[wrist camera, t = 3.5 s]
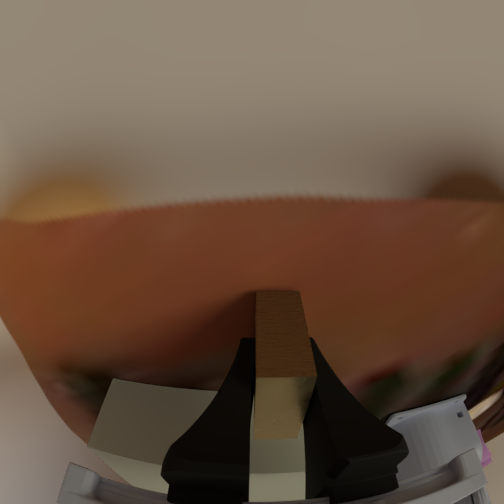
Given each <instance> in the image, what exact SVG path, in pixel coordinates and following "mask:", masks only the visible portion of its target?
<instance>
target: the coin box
mask: <svg viewBox="0 0 504 504" xmlns="http://www.w3.org/2000/svg"><path fill="white" fill-rule="evenodd" d="M217 392H218V391H207V390H194V389H183V388H174V387H165V386H157V385H150V384H143V383H137V382H131V381H125V380H119V379H114V378H113V380H112V383H111V385H110V387H109V390H108V392H107V395H106V397H105V400H104V402H103V405H102V408H101V410H100V413H99V415H98V418H97V421H96V423H95V426H94V429H93V432H92V434H91V437H90V440H89V443H88V446H87V447H89V448H90V449H91V450H92V451H93V452H94V453H95V454H96V455H97V456H98V457H99V458H100V459H101V460H102V461H103V462H105V463H106V464H107V465H108V466H109V467H110V468H111V469H113V470H114V471H115V472H116V473H117V474H118V475H120V476H121V477H122V478H123V479H125V480H126V481H127V482H128V483H130V484H131V485H132V486H134V487H138V488H142V489H146V490H151V491H155V492H160V493H165V494H168V488H169V484H168V483H167V482H166V481H165V480H164V479H163V478H162V477H161V475H160V474H161V469H162V463H163V460H164V458H165V455H166V453H167V451H168V449H169V447H170V446H171V444H173V443H174V442H175V441H176V440H177V439H178V438H179V437H180V436H182V435H183V434H184V433H185V432H186V431H187V430H188V429H189V428H190V427H191V426H192V425H193V423H194V422H195V421H196V420H197V419H198V418H199V417H200V416H201V414H202V413H203V412H204V411H205V409H206V408H207V407H208V405H209V404H210V403H211V401H212V400H213V399H214V397H215V396H216V394H217ZM253 435H254V399H253V408H252V417H251V426H250V476H249V502H277V501H294V500H305V446H304V431H303V423H302V426H301V429H300V432H299V435H298V438H296V439H265V440H255V439H253Z"/></svg>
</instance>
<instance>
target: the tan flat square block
mask: <svg viewBox="0 0 504 504" xmlns="http://www.w3.org/2000/svg"><path fill="white" fill-rule="evenodd" d="M316 379H317V372H316V367H315V362H314V357H313V352H312V347H311V343H310V338H309V333H308V328H307V324H306V319H305V314H304V310H303V305H302V301H301V296H300V292H299V291H256V309H255V384H254V435H253V439H255V440H265V439H296V438H298V435H299V432H300V429H301V426H302V423H303V420H304V417H305V414H306V411H307V408H308V405H309V402H310V399H311V395H312V392H313V389H314V385H315V382H316Z"/></svg>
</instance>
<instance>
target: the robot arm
mask: <svg viewBox="0 0 504 504" xmlns="http://www.w3.org/2000/svg"><path fill="white" fill-rule="evenodd" d="M310 343H311V347H312V352H313V357H314V362H315V367H316V372H317V379H316V382H315V385H314V389H313V392H312V395H311V399H310V402H309V405H308V408H307V411H306V414H305V417H304V420H303V431H304V446H305V500H294V501H277V502H249V476H250V426H251V417H252V408H253V399H254V384H255V338H242V339H240V345H239V348H238V351H237V354H236V357H235V360H234V362H233V364H232V366H231V369H230V371H229V373H228V375H227V377H226V379H225V380H224V382H223V384H222V386H221V388H220V389H219V391H218V392H217V394H216V396H215V397H214V399H213V400H212V401H211V403H210V404H209V405H208V407H207V408H206V409H205V411H204V412H203V413H202V414H201V416H200V417H199V418H198V419H197V420H196V421H195V422H194V423H193V425H192V426H191V427H190V428H189V429H188V430H187V431H186V432H185V433H184V434H183V435H182V436H180V437H179V438H178V439H177V440H176V441H175V442H174V443H173V444H171V446H170V447H169V449H168V451H167V453H166V455H165V458H164V460H163V463H162V469H161V474H160V475H161V477H162V478H163V479H164V480H165V481H166V482H167V483H168V484H169V488H168V494H165V493H160V492H155V491H151V490H146V489H142V488H138V487H134V486H130V485H126V484H123V483H119V482H116V481H112V480H109V479H106V478H103V477H100V475H99V474H97V473H96V472H94V471H92V470H90V469H88V468H85V467H82V466H79V465H77V464H74V463H71V462H70V463H69V465H68V468H67V471H66V474H65V477H64V480H63V483H62V487H61V490H60V493H59V497H58V500H57V503H58V504H491V502H490V498H489V495H488V492H487V489H486V486H485V485H487V479H486V476H485V474H484V471H483V468H482V465H481V460H482V453H483V450H482V443H481V440H480V438H479V435H478V433H477V431H476V428H475V426H474V424H473V422H472V420H471V417H470V415H469V413H468V411H467V409H466V407H465V405H464V403H463V401H464V400H465V399H466V397H467V396H466V394H463V395H460V396H457V397H454V398H451V399H448V400H444V401H441V402H438V403H434V404H431V405H427V406H424V407H420V408H416V409H412V410H408V411H404V412H399V413H395V414H393V415H391V416H390V417H389V419H388V420H387V421H386V423H384V422H382V421H381V420H379V419H378V418H377V417H376V416H374V415H373V414H372V413H371V412H370V411H369V410H367V409H366V408H365V407H364V406H363V405H362V404H361V403H360V402H359V401H358V400H357V399H356V398H355V397H354V396H353V395H352V394H351V393H350V392H349V391H348V390H347V388H346V387H345V386H344V385H343V383H342V382H341V381H340V380H339V378H338V377H337V376H336V374H335V373H334V372H333V370H332V369H331V367H330V366H329V364H328V363H327V361H326V360H325V358H324V357H323V355H322V353H321V352H320V350H319V348H318V346H317V344H316V343H315V341H314V339H313V338H312V337H310Z"/></svg>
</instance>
